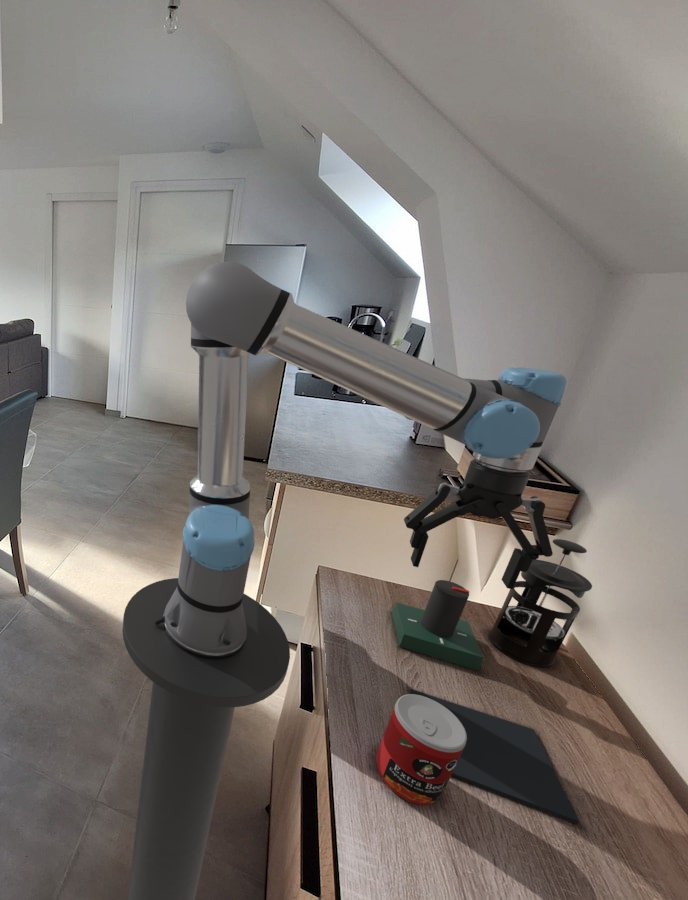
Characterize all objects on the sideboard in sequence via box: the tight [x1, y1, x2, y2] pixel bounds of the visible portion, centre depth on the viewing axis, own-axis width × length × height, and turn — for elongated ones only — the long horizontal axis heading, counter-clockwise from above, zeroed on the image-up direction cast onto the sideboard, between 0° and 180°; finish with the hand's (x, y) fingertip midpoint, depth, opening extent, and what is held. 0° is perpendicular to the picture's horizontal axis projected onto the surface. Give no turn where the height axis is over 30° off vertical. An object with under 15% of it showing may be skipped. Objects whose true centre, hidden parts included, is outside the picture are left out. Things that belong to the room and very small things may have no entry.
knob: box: [421, 579, 470, 637], centre depth 84 cm, size 5×5×9 cm
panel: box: [391, 602, 485, 671], centre depth 86 cm, size 12×10×3 cm
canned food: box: [375, 693, 467, 806], centre depth 60 cm, size 8×8×11 cm
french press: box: [487, 538, 593, 669], centre depth 82 cm, size 12×9×23 cm
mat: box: [409, 688, 580, 825], centre depth 66 cm, size 16×14×1 cm
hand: (458, 573), depth 81 cm, fingers open, 13 cm apart
